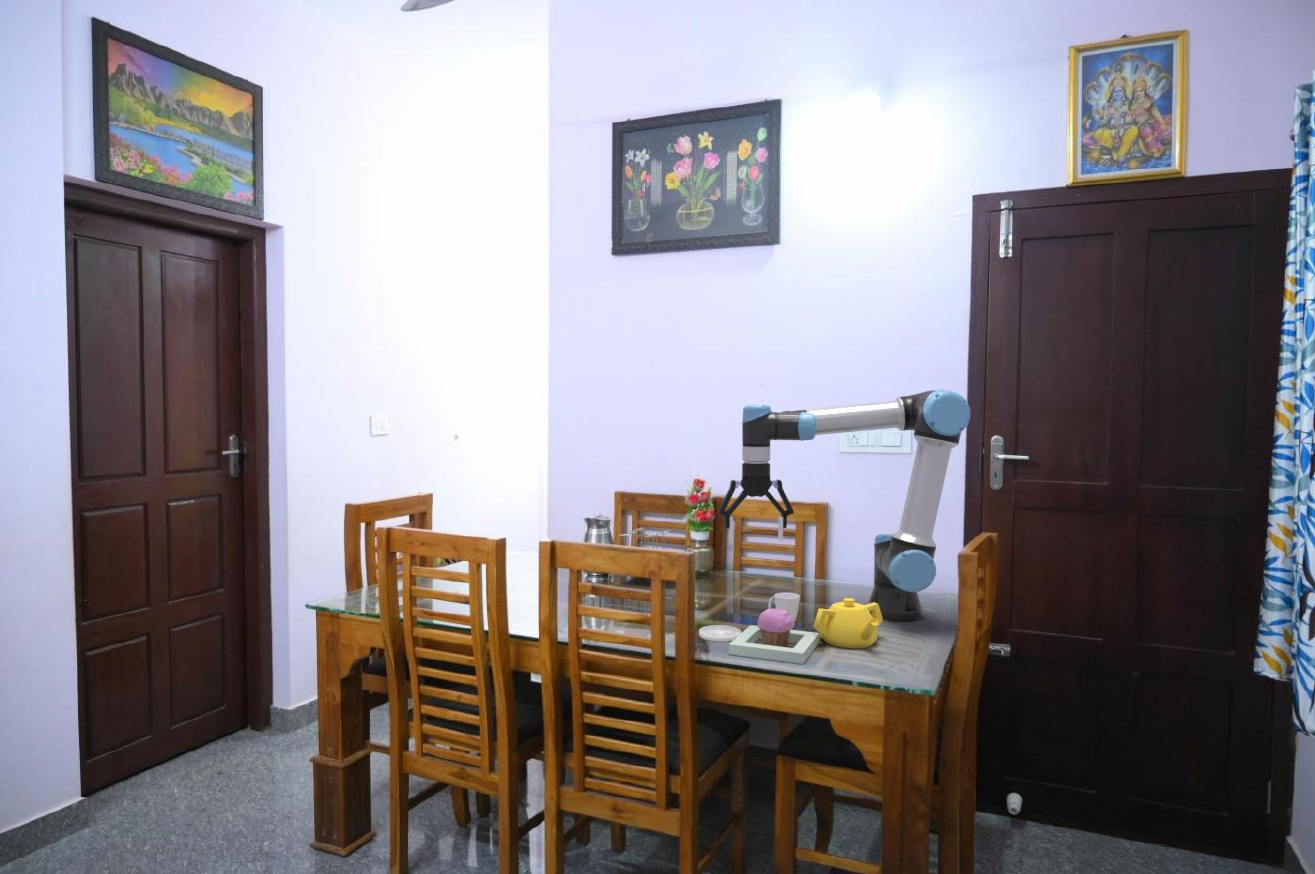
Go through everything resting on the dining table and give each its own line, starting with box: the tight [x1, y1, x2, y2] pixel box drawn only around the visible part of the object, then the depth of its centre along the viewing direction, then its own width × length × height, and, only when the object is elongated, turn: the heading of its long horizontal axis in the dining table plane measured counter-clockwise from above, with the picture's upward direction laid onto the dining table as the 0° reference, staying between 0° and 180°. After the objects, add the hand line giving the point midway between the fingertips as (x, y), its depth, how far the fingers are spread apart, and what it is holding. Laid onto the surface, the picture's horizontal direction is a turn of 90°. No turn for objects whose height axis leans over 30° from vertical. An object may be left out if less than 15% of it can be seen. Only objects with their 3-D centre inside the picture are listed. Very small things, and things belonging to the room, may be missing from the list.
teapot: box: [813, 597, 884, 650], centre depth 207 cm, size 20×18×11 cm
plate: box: [698, 624, 742, 643], centre depth 213 cm, size 11×11×1 cm
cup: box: [767, 591, 801, 626], centre depth 225 cm, size 7×10×8 cm
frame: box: [728, 624, 820, 665], centre depth 202 cm, size 18×18×2 cm
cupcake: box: [757, 607, 795, 648], centre depth 202 cm, size 9×9×10 cm
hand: (755, 540), depth 222 cm, fingers open, 13 cm apart
